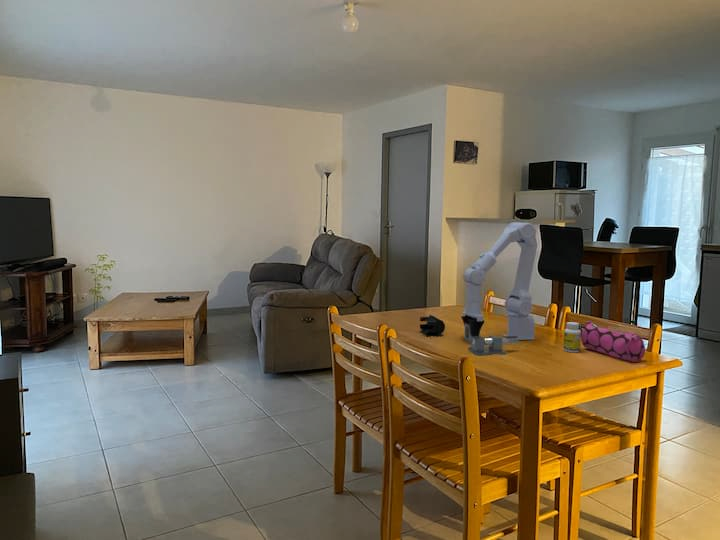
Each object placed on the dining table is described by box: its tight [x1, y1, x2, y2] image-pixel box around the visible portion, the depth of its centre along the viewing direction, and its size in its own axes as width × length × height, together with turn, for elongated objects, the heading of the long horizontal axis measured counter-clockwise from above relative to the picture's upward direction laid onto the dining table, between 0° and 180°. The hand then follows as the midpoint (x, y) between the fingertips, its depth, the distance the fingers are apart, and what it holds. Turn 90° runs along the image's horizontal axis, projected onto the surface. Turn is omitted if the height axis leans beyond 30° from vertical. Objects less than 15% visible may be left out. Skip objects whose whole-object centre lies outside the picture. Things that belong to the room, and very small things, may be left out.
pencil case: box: [581, 320, 646, 363], centre depth 184 cm, size 21×10×10 cm, turn 25°
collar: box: [463, 323, 481, 344], centre depth 202 cm, size 4×5×6 cm
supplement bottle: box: [563, 321, 582, 353], centre depth 189 cm, size 5×5×10 cm
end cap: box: [419, 314, 446, 338], centre depth 214 cm, size 10×7×7 cm
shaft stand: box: [467, 334, 520, 356], centre depth 187 cm, size 16×8×5 cm, turn 100°
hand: (472, 336), depth 202 cm, fingers closed on collar, 5 cm apart
